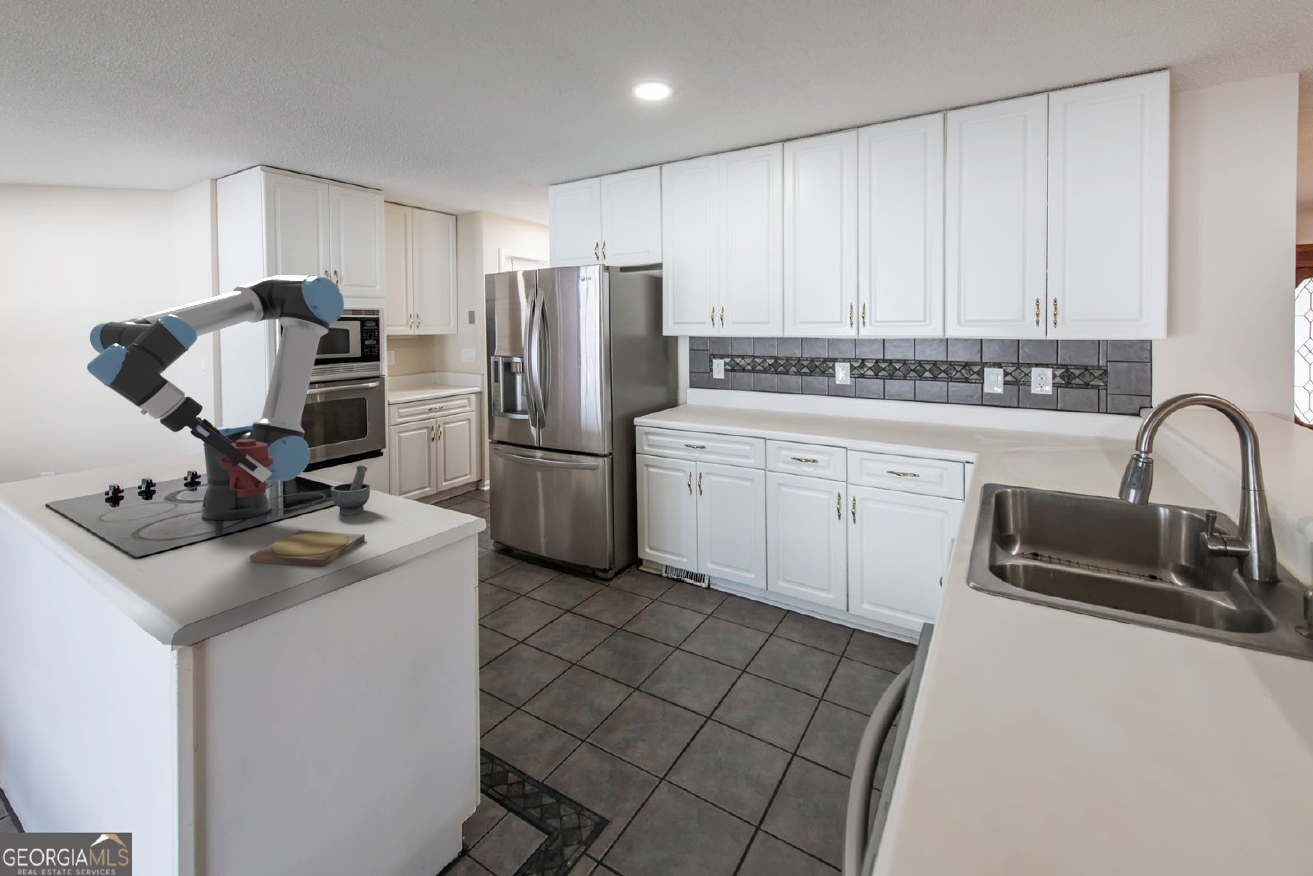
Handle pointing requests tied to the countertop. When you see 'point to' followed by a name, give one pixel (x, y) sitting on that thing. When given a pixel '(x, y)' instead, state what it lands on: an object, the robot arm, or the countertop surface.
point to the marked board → (307, 548)
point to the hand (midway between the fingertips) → (263, 472)
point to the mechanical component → (239, 476)
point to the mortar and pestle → (352, 494)
